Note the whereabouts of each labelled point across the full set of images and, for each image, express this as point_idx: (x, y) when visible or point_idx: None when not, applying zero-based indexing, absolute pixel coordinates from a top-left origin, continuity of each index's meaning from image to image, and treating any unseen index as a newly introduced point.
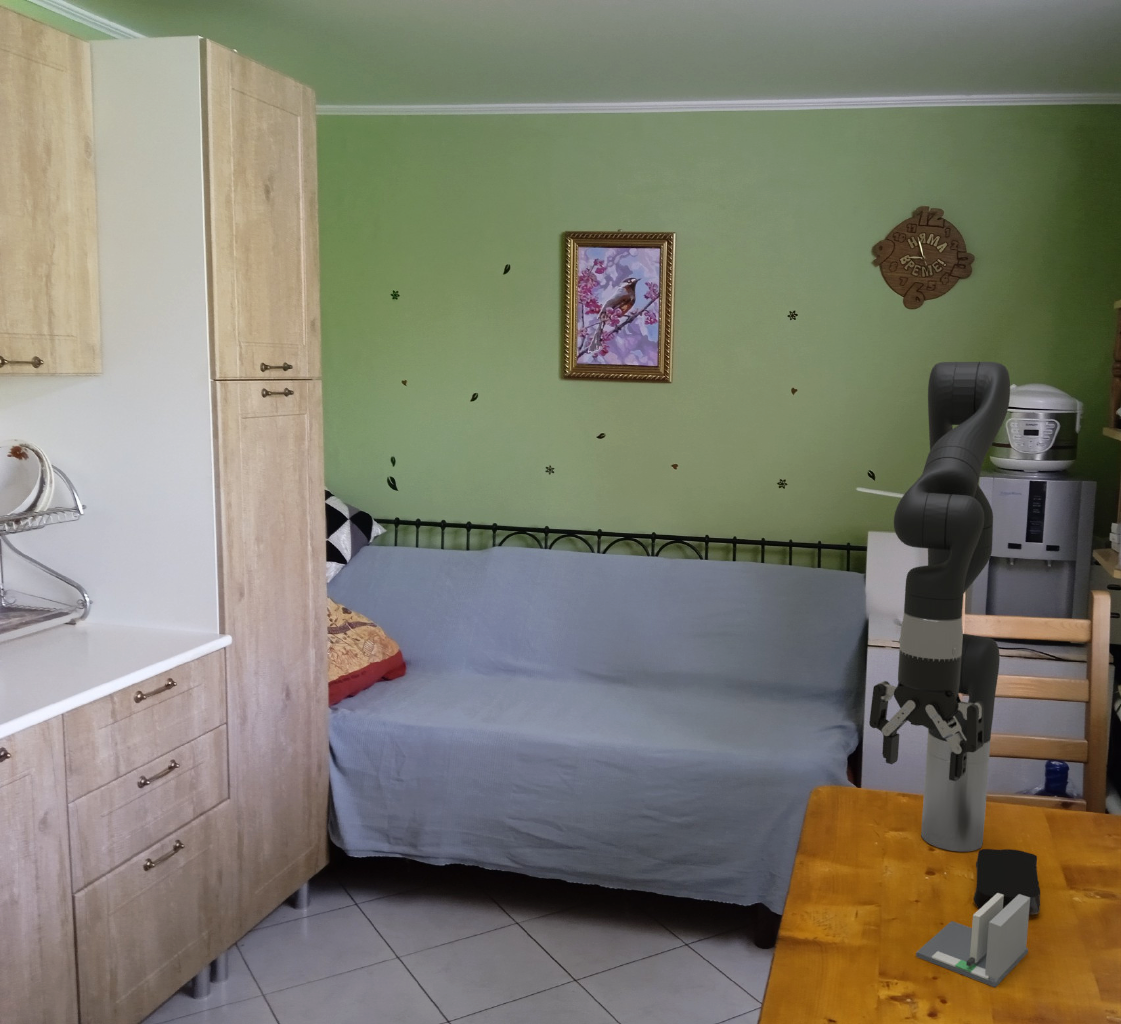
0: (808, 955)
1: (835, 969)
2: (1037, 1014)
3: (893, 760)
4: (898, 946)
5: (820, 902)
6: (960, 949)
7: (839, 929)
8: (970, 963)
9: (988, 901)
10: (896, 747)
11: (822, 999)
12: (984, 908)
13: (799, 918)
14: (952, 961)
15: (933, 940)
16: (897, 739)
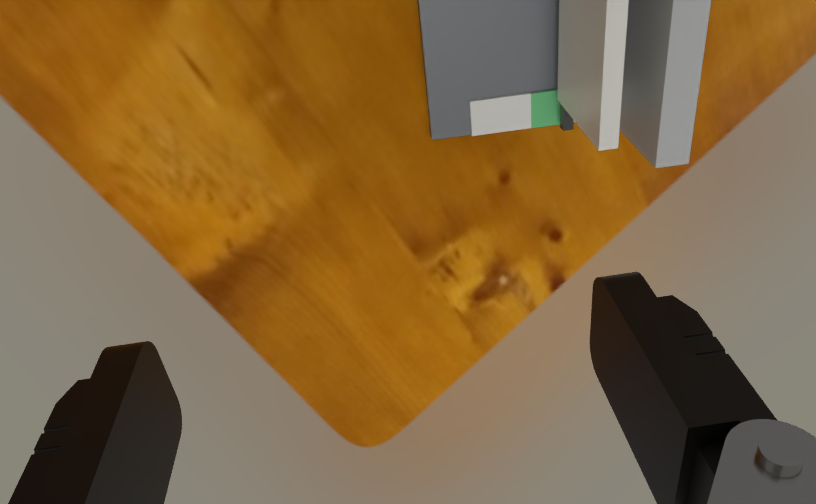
0: (275, 305)
1: (345, 303)
2: (724, 132)
3: (168, 402)
4: (375, 127)
5: (90, 95)
6: (503, 36)
7: (232, 173)
8: (572, 128)
9: (605, 29)
10: (132, 446)
11: (394, 383)
12: (612, 86)
13: (136, 206)
14: (518, 115)
15: (432, 54)
16: (108, 497)
